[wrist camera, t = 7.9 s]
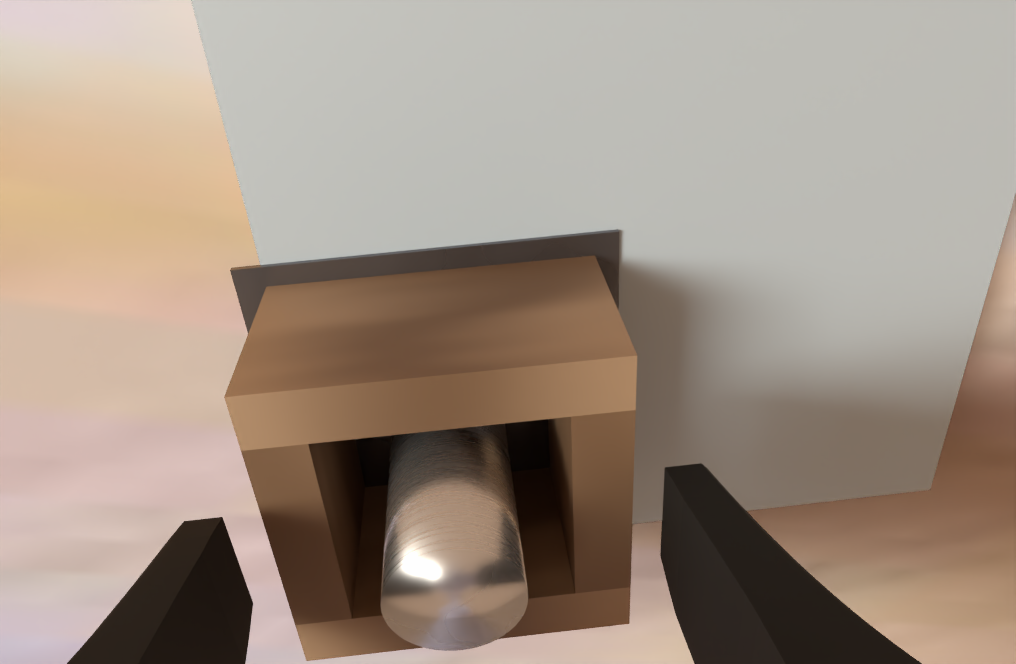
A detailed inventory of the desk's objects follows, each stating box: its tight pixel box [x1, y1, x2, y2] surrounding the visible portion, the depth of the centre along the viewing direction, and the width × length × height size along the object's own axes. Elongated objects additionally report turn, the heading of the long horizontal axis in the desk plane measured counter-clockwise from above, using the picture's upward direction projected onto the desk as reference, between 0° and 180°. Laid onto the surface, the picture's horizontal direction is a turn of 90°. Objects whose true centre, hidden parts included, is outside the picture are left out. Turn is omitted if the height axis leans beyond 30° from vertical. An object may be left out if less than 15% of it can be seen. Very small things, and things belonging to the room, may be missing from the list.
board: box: [191, 0, 1016, 524], centre depth 15 cm, size 14×12×1 cm
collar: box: [224, 255, 637, 661], centre depth 14 cm, size 6×6×3 cm
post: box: [230, 229, 619, 651], centre depth 14 cm, size 7×7×5 cm
